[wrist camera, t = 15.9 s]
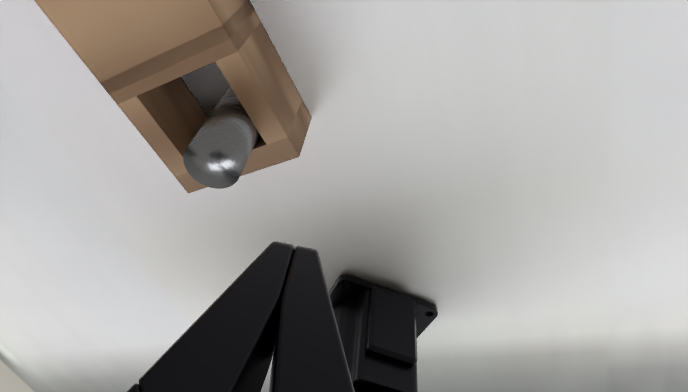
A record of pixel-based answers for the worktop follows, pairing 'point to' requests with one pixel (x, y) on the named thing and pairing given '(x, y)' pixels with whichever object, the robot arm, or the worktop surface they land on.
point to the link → (185, 70)
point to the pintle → (221, 144)
